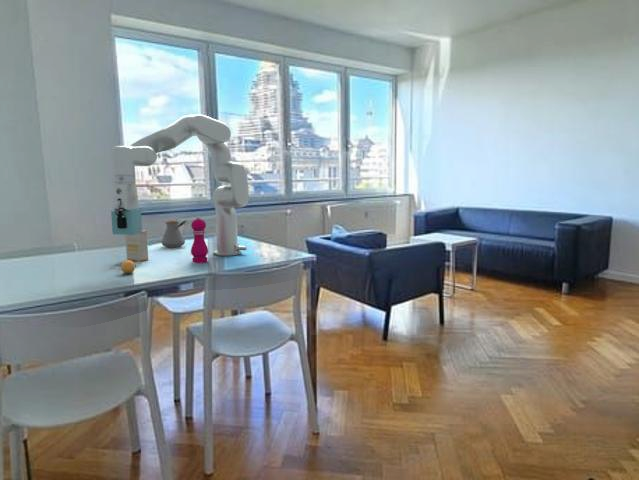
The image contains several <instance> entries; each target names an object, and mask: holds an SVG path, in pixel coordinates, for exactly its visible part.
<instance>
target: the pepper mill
mask: <svg viewBox="0 0 639 480" xmlns="http://www.w3.org/2000/svg"><path fill="white" fill-rule="evenodd" d="M191 228H192V234H193V244H192V246H191V249H190V254H191V256H192V263H194V264H204V263H207V262H208V257H207V256H208V254H209V248H208V246H207V244H206V241H205V234H206V230H205V229H206V228H207V224H206V221H205V220H204V219H201V216H200V215H197V216H195V219H194V220H193V221H192V222H191Z"/></svg>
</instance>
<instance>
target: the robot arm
mask: <svg viewBox="0 0 639 480" xmlns="http://www.w3.org/2000/svg"><path fill="white" fill-rule="evenodd" d="M231 136H232V131H231V129H230V127H229V126H228V125H227V124H226V123H225V122H222V121H220V120H218V119H214V118H212V117H210V116H207V115H204V114H198V113H197V114H188V115H187V114H186V115H183V116H181V117H180V118H178V119H176V120H175V121H174V122H171V123H170V124H169V125H167V126H166V127H164V128H162V129H160V130H158V131H155V132H153V133H151V134H148V135H147V136H144V137H142V138H140V139H138V140H137V141H135V142H134V143H132V144H130V145H128V146H127V145H114V146H113V147H112V148H111V158H112V160H111V161H112V172H113V173H112V175H113V184H114V194H113V195H114V207H113V210H115V214H116V217H117V227H118V228H127V226H126V218H125V211H126V210H127V211H130V210H135V209H139V208H140V207H139V206H140V203H139V197H138V195H139V194H138V189H137V185H136V183H137V180H136V167H149V166H152V165H154V164H155V163H156V161H157V159H158V156H157V155H158V154H157V153H163V152H166V151H170V150H171V151H172V149H173V150H174V149H175V148H177V147H178V146H180V145H182V144H183V143H184V142H186V141H187V140H189V139H190V138H192V137H197V139H198V140H199V141H200V142H201V143H202V144H204V145H205V146H206V147H207V148H208V149H209V152H210V156H211V162H212V170H213V177H214V179H215V181H216V182H218V183H221V184H230V185H221V186H218V187H217V188H215V189H214V190H213V194H212V195H213V197H212V198H213V204H214V209H215V225H216V230H215V231H216V250H214V251H213V254H214V255H216V256H223V257H227V256H229V257H230V256H237V255H240V254H241V253H242V251H247V250H248V249H247V246H246V245H240V243H239V242H238V216H237V215H238V214H237V211H236V208H243V207H246V206H247V205H248V202H249V198H250V193H249V183H248V182H249V181H248V173H247V170H246V168H245V166H244V165H243V164H242V162H241V163H240V162H237V161H233V160H232V155H231V154H232V153H231V150H230V147H229V145H228V143H227V142H228V141H229V140H230V138H231ZM121 211H123V213H122V212H121Z"/></svg>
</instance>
